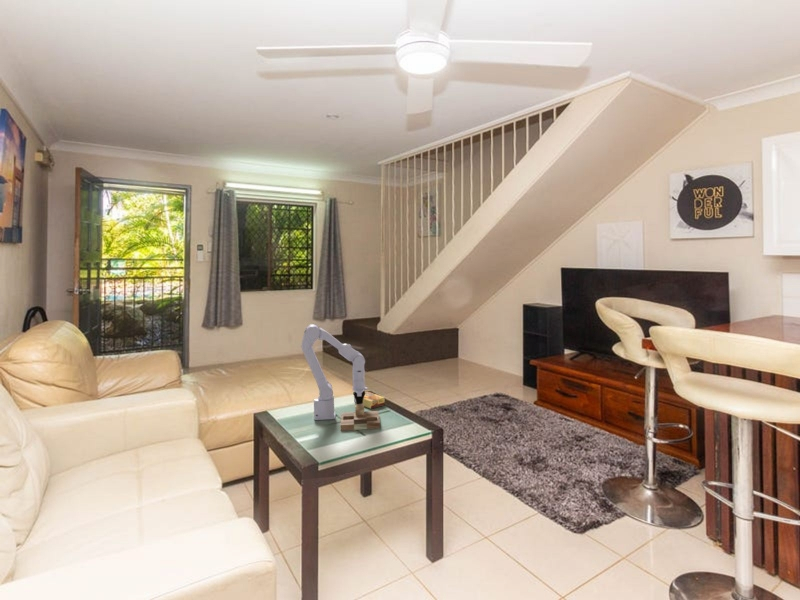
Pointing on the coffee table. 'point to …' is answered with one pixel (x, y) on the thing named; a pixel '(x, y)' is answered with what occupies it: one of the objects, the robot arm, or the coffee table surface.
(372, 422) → the board
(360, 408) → the block
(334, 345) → the robot arm
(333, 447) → the coffee table surface
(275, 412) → the coffee table surface
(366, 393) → the candy box
